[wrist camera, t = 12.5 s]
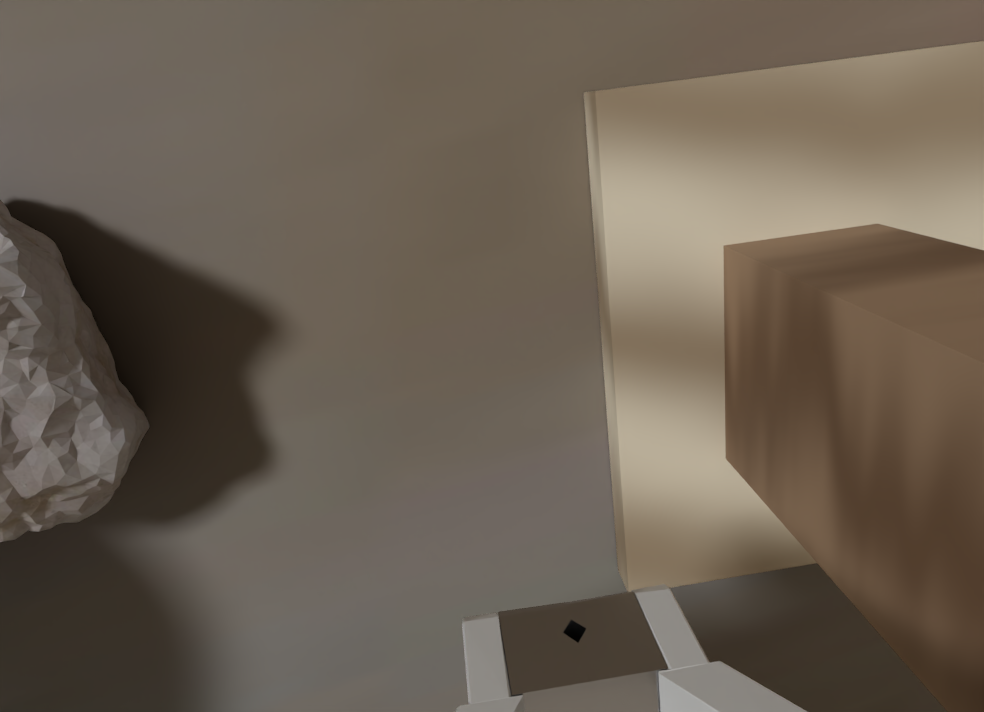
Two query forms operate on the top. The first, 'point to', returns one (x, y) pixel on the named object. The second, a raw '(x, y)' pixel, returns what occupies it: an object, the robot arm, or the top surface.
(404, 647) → the top surface
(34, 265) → the stone
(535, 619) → the robot arm
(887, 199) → the birch board
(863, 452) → the walnut block
